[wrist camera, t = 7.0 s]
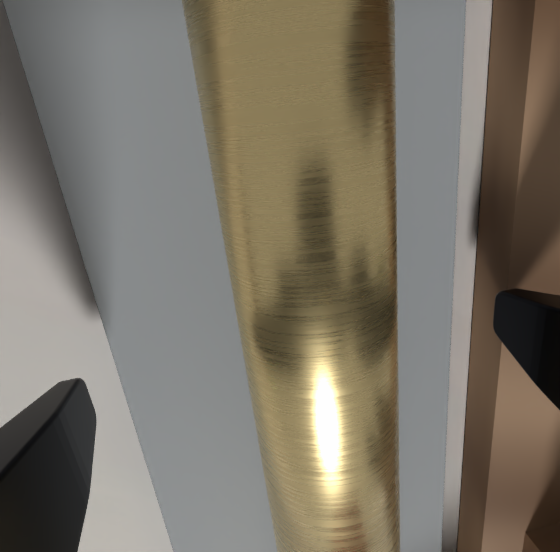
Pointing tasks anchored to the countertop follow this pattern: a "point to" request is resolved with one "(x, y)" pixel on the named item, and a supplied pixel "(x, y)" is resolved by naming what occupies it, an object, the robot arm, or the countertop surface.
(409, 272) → the mat
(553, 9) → the stand
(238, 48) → the rail
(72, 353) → the countertop surface
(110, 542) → the countertop surface
